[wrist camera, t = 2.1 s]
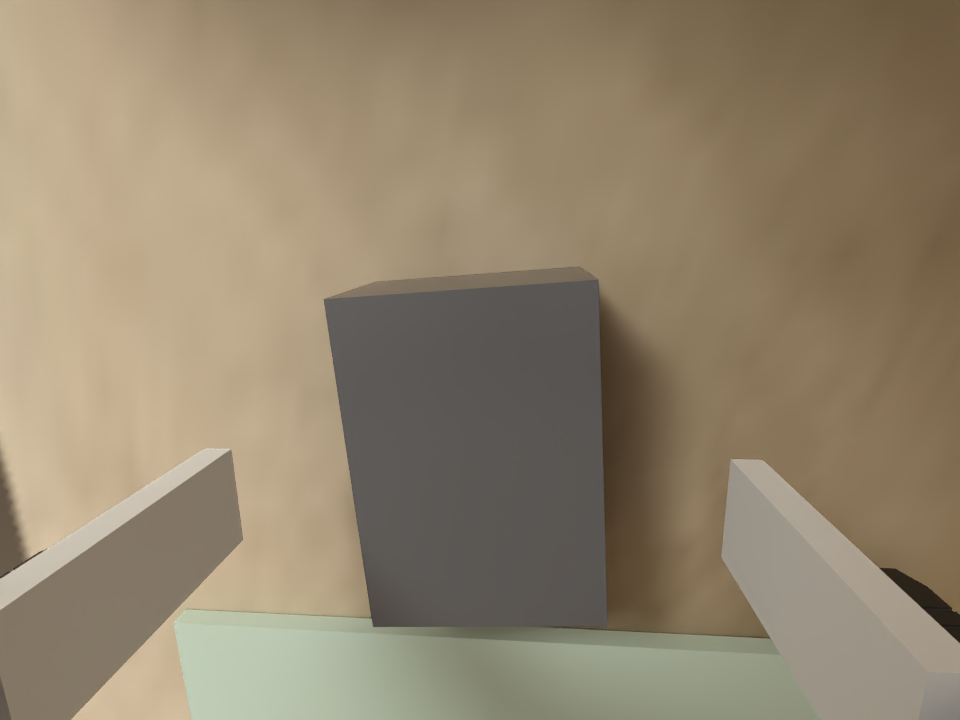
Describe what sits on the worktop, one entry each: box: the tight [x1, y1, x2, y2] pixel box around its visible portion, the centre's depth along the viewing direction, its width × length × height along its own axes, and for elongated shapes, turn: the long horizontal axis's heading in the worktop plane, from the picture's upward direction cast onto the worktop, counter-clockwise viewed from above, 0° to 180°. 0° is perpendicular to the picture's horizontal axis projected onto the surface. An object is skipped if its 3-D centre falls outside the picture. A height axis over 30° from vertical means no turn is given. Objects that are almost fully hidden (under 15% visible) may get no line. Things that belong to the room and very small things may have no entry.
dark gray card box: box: [324, 267, 608, 627], centre depth 17 cm, size 10×7×5 cm
